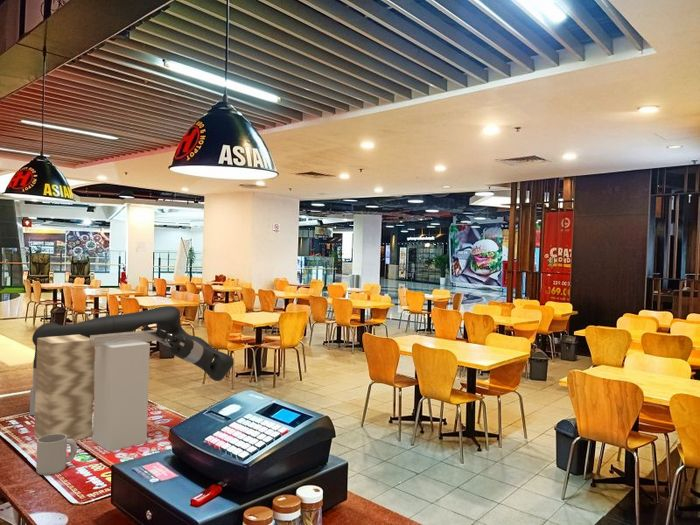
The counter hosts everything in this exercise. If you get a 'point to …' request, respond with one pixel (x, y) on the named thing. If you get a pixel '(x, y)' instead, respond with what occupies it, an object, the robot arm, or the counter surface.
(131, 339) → the wooden block
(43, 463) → the cup
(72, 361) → the walnut stand
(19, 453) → the counter surface
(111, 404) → the block
